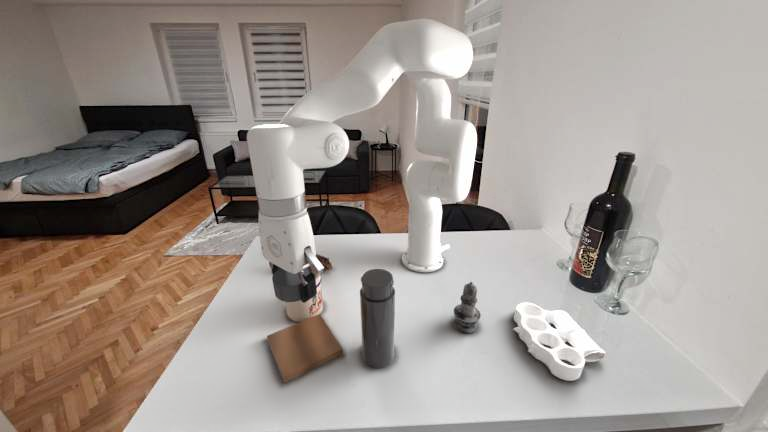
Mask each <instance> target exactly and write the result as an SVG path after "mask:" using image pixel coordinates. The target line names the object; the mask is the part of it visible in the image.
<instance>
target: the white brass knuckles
mask: <svg viewBox="0 0 768 432" xmlns="http://www.w3.org/2000/svg"><path fill="white" fill-rule="evenodd" d="M513 321H514V322H515V323H516V324H517V327H514V328H512V331H514V332H516V333H517V334H518V337H519V339H520V340H521V341H522V342H524V344H525V345H526V347H527V353H530V354H531V355H532V356H533V357H534V358H535V359H536V360H539V361H540V362H541V363H543V364H544V365H545V366H547V368H548V369H549V371H550V373H551V374H552V375H553V376H555V377H556V378H558V379H560V380H562V381H568V382H571V381H573V382H574V381H577V380H578V379H580V377H581V375H582V373H583V371H584V367H585V364H586V363H593V362H598V361H601V360H603V359H604V358H605V357H606V355H607V353H606V351H605V350H604V349H602V348H600V346H599V345H598V344H597V343H596V342H595V341H594V340H593V339H592V338H591V337H590V336H589V335H588V334H587V332H586V330H585V329H583V328H582V327H581V326H580V325H578V324H577V322H576V321H575V320H574V319H573V317H571V316H570V314H569V313H568V312H567V311H564V310H547V309H544V308H542V307H540V306H539V305H537V304H535V303H532V302H521V303H519V304H517V305H516V308H515V312H514V316H513ZM551 325H553V326H554V327H555V328H554V327H552V326H551ZM566 343H569V344H570V345H571V346H569V345H568V344H566ZM544 345H546V346H548V347H546V346H544ZM549 347H550V348H549ZM562 360H563V361H567V362H569V363H570V364H572V365H570V364H567V363H565V362H563V361H562Z"/></svg>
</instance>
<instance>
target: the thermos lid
mask: <svg viewBox="0 0 768 432" xmlns="http://www.w3.org/2000/svg"><path fill="white" fill-rule="evenodd" d="M303 265H304V264H303ZM303 272H304V274H305V277H306V276H307V275H308V274H309V271H308V268H306V269H304V270H303ZM271 281H272V285H273V286H272V287H273V290H274V295H275V296H274V297H276V298H277V300H278V301H280V302H283V303H285V302H296V301H300V300H301V295H300V288H299V284H300V283H301V281H300V279H299V276H298V274H293V273H290V272H288V271H286V270H284V269H282V268H279V269H277V270H276V271H275V272H274V274H273V275H272V277H271Z"/></svg>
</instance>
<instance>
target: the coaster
mask: <svg viewBox="0 0 768 432" xmlns="http://www.w3.org/2000/svg"><path fill="white" fill-rule="evenodd" d="M266 339H267V342H268V345H269V347H270V350H271V352H272V353H271V354H272V355H273V358H274V361H275V363H276V365H277V368H278V372H279V374H280V376H281V378H282V381H283V383H284V384H286V383H288V382H290V381H292V380H294V379H296V378H299V377H301V376H302V375H304V374H306V373H309V372H310V371H313V370H314V369H316V368H318V367H320V366H322V365H325V364H327V363H328V362H330V361H332V360H334V359H337V358H339V357H340V356H342V355H344V351H343V347H342V346H341V344H340V343H339V340H337V338H336V336H335V335H334V334H333V332H332V330H331V329H330V327H329V325H328V324H327V322H326V321H325V320H324V318H323V317H322V315H321V313H320V314H319V315H316V316H314V317H312V318H309V319H307V320H304V321H302V322H297V323H295V324H292V325H290V326H287V327H285V328H282V329H280V330H278V331H275V332H272V333H270V334H268V335H266Z"/></svg>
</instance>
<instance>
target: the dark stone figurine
mask: <svg viewBox="0 0 768 432" xmlns="http://www.w3.org/2000/svg"><path fill="white" fill-rule="evenodd" d="M462 290H463V291H462V294H461V295H460V300H461V303H460V304H457V305H456V306H455V307H454V308H453V315H454V320H453V327H454V328H455V330H457V331H458V332H460V333H462V334H468V335H469V334H474V333H475V332H476V331H477V330H478V324H477V323H478V322H479V320H480V319H481V317H482V316H481V312H480V310H479V309H478V308H477V307H476V304H477V303H478V298H477V294H478V287H477V286H476V285H475V284H474V283H473V282H472V281H470V282H469V283H466V284H464V286H463V289H462Z"/></svg>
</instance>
